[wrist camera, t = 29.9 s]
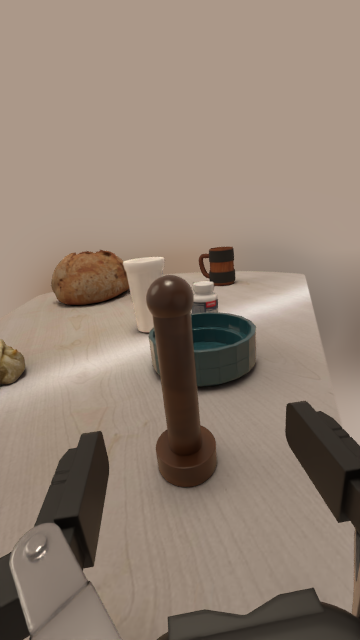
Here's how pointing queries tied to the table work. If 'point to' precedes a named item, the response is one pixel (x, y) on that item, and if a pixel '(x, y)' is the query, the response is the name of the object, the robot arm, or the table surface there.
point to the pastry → (10, 364)
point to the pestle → (179, 386)
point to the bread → (89, 278)
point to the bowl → (218, 347)
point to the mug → (219, 266)
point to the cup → (143, 286)
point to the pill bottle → (204, 297)
